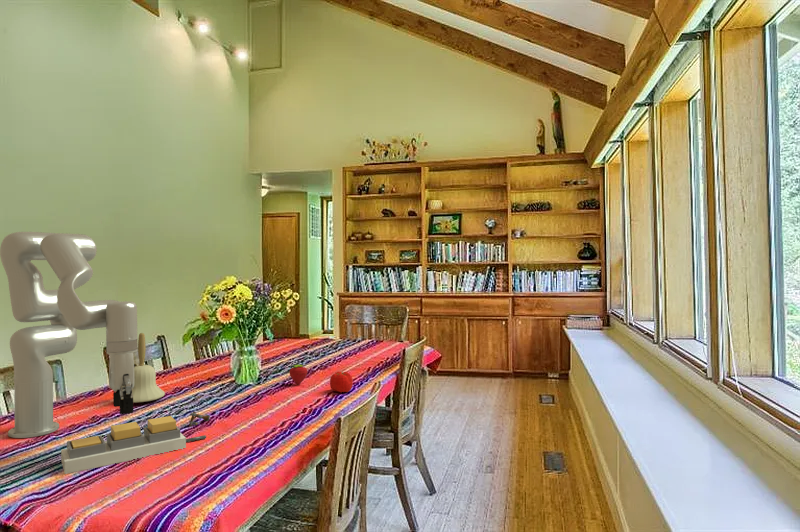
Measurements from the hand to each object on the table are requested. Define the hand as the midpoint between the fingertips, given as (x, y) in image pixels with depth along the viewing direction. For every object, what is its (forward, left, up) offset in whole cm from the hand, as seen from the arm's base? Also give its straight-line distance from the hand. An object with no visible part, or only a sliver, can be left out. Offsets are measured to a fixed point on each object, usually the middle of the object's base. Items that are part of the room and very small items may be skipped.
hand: (123, 409), depth 141 cm
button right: (+5, +9, -6) cm, 11 cm away
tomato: (-18, +80, -11) cm, 83 cm away
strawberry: (-38, +71, -11) cm, 82 cm away
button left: (+5, -9, -8) cm, 13 cm away
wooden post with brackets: (-10, +23, -11) cm, 28 cm away
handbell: (-50, +14, -11) cm, 54 cm away
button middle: (+5, 0, -6) cm, 7 cm away
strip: (+5, +3, -11) cm, 12 cm away
